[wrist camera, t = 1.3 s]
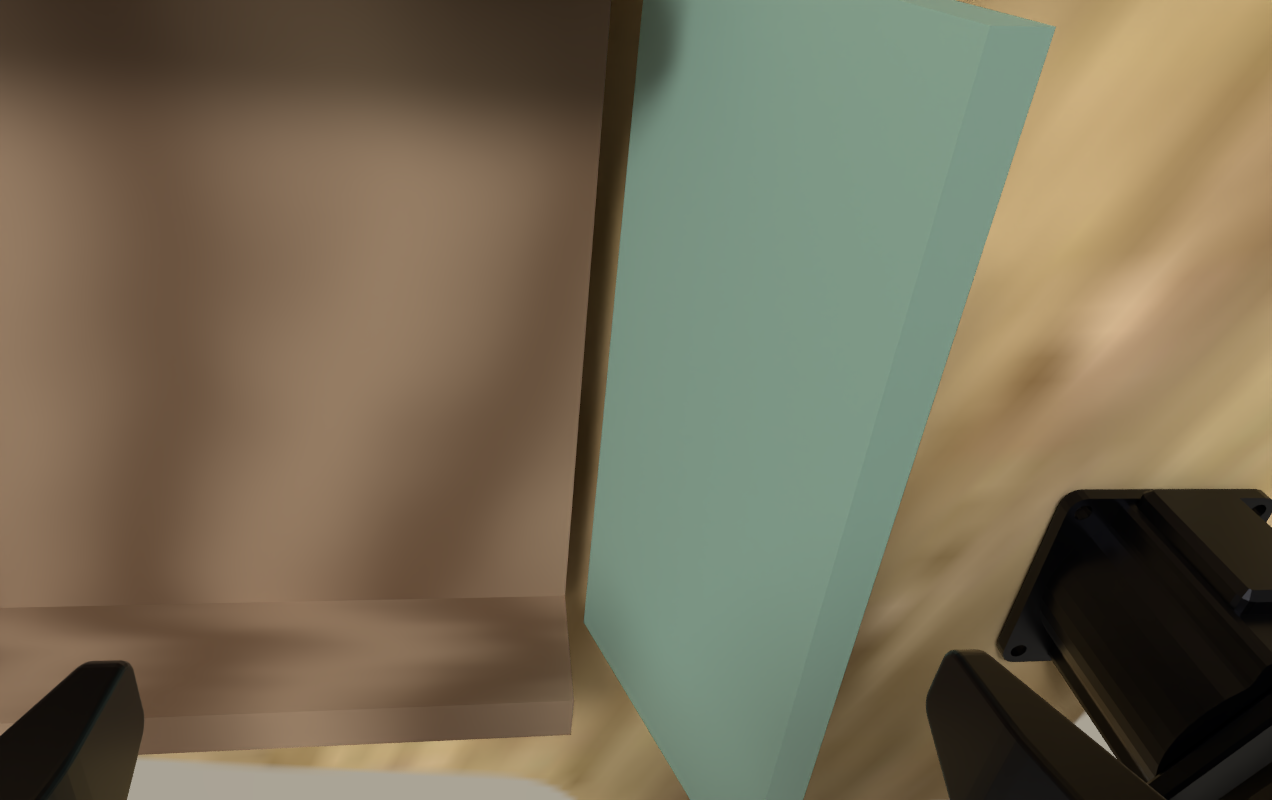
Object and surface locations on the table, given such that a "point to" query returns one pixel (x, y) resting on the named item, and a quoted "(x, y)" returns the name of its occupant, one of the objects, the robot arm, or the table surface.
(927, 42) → the tailgate
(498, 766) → the table surface
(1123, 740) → the robot arm
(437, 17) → the truck bed
